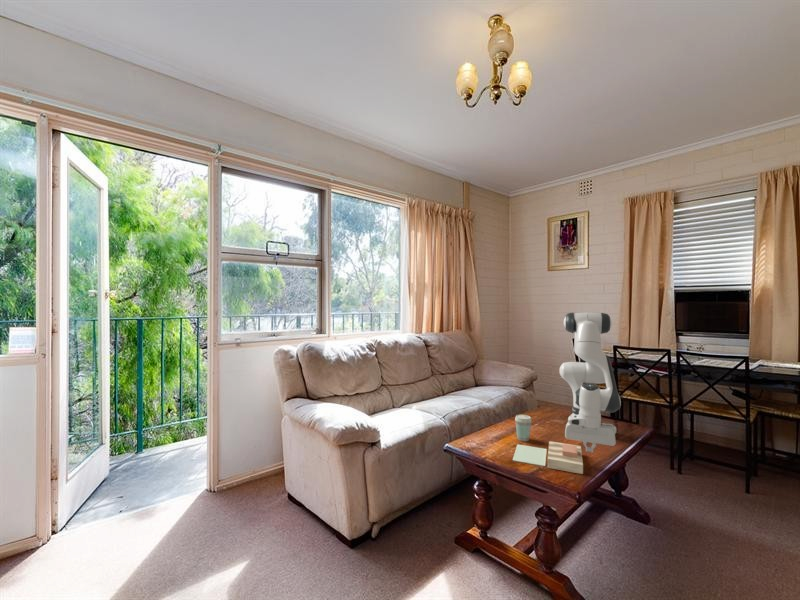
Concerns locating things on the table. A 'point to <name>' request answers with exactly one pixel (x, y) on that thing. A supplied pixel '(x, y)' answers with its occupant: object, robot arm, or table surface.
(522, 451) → the mat
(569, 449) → the pink rectangular block
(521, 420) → the coffee cup
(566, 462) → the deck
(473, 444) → the table surface
